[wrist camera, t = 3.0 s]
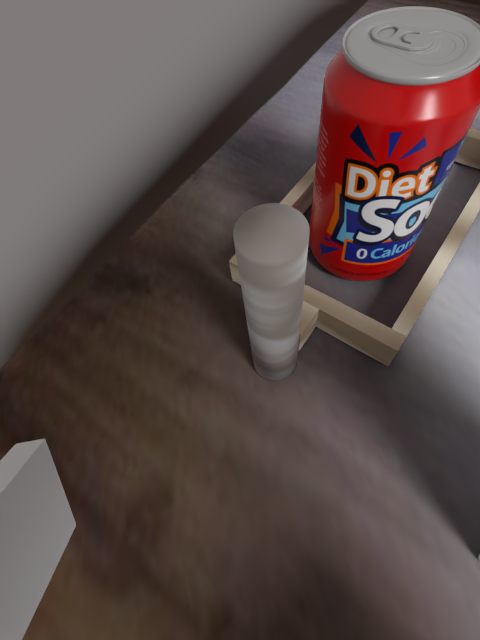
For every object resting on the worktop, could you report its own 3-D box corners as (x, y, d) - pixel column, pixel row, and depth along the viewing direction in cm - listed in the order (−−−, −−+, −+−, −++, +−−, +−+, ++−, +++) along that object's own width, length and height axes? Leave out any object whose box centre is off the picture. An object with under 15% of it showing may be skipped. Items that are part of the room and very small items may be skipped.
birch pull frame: (366, 123, 37) (403, -53, 26) (503, 167, 33) (620, -23, 22) (190, 330, 28) (128, 194, 17) (349, 433, 23) (415, 341, 12)
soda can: (340, 199, 33) (379, -14, 20) (425, 237, 30) (535, 17, 17) (289, 257, 31) (295, 56, 18) (376, 305, 28) (462, 106, 15)
